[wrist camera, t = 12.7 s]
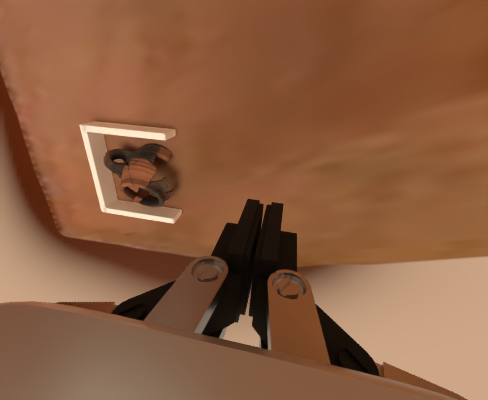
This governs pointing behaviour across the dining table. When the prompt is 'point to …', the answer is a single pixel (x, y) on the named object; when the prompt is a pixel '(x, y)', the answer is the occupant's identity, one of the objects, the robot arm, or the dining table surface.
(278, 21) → the dining table surface
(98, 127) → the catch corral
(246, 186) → the dining table surface
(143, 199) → the pottery mug
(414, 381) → the robot arm
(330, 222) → the dining table surface
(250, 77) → the dining table surface
